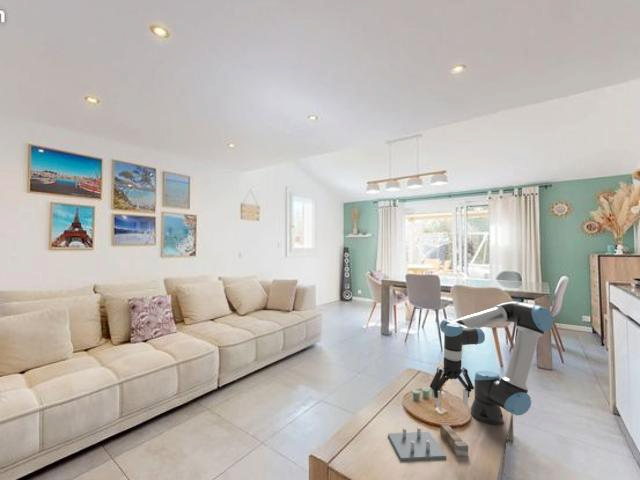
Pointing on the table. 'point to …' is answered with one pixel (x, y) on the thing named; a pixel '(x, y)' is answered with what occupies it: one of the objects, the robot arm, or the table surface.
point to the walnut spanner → (454, 440)
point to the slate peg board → (416, 446)
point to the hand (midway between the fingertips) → (451, 404)
